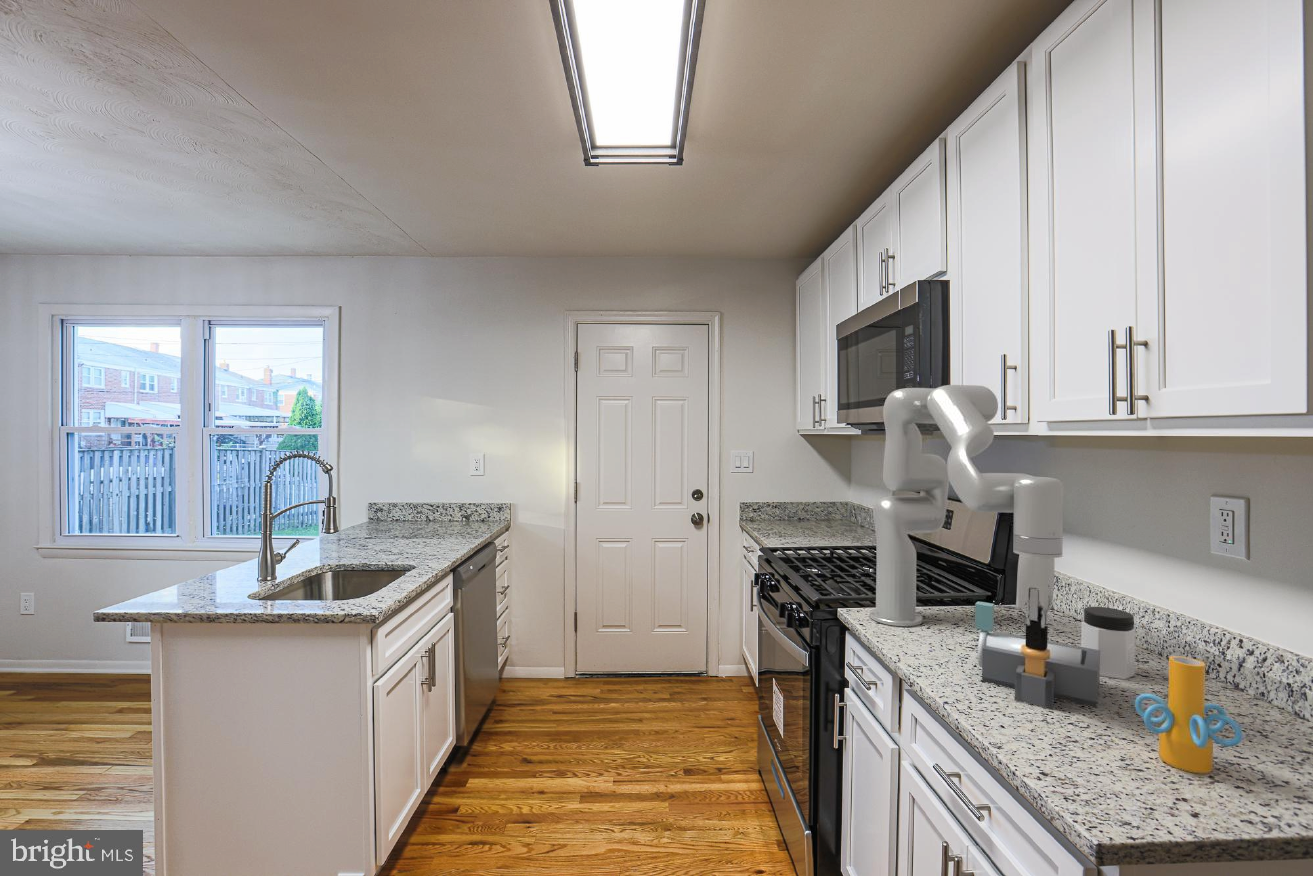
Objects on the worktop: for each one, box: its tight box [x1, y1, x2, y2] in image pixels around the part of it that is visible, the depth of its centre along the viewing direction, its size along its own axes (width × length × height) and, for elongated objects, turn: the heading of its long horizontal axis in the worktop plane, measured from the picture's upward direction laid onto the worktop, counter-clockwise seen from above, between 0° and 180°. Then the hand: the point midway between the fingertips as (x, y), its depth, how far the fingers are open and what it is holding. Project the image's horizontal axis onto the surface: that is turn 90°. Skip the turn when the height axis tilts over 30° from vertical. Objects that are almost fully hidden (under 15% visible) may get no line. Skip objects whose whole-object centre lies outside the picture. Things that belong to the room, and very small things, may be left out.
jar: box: [1080, 606, 1137, 681], centre depth 125 cm, size 9×8×12 cm
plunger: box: [1021, 645, 1050, 677], centre depth 111 cm, size 4×4×7 cm
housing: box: [981, 630, 1101, 710], centre depth 116 cm, size 19×18×6 cm
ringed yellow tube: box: [1134, 655, 1244, 774], centre depth 90 cm, size 12×10×15 cm
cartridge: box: [974, 601, 1082, 668], centre depth 120 cm, size 7×18×13 cm, turn 52°
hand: (1036, 647), depth 111 cm, fingers closed
